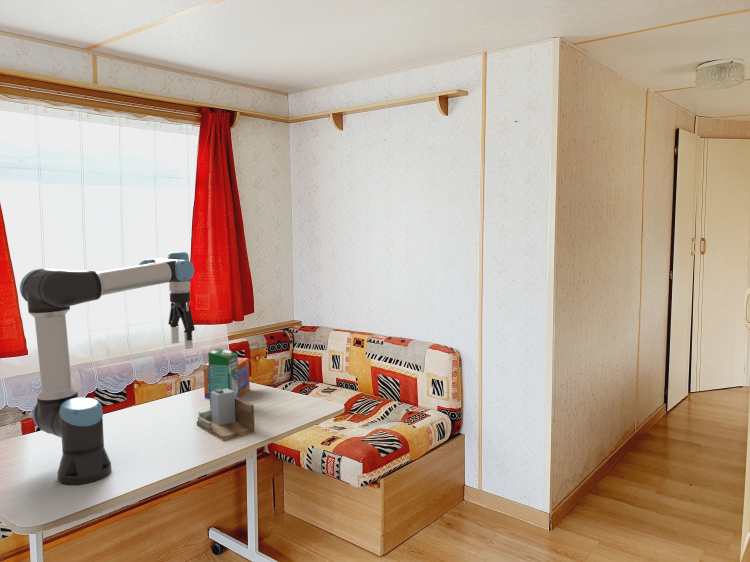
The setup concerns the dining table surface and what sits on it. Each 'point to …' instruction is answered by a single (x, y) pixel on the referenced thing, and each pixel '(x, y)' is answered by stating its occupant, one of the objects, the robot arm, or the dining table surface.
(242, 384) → the game box
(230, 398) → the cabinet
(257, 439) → the dining table surface
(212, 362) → the milk carton
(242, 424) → the brown wooden l-shaped piece
